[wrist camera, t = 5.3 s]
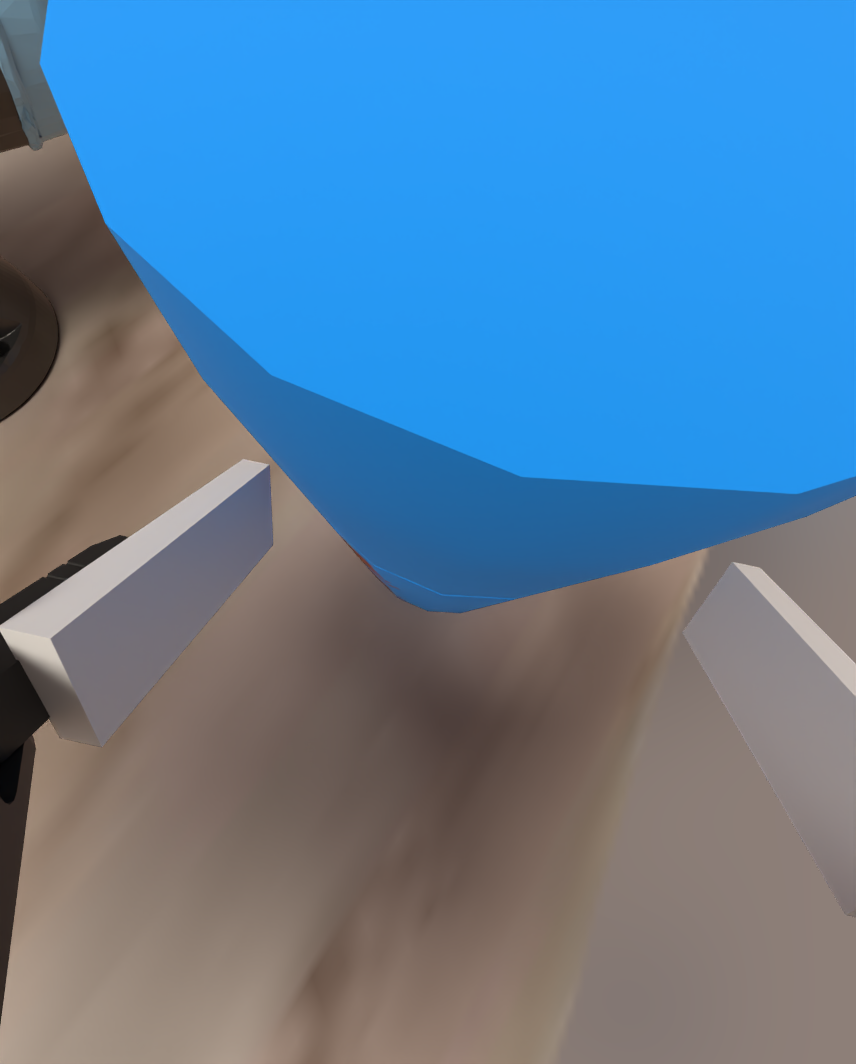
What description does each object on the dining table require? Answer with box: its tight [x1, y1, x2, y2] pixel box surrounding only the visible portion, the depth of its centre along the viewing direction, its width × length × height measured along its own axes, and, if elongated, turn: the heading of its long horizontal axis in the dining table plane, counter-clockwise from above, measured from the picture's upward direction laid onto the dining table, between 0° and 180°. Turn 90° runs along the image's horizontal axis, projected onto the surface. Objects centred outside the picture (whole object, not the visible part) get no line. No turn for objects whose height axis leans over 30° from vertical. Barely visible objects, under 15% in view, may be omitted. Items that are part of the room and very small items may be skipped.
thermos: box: [40, 0, 856, 613], centre depth 16 cm, size 11×11×25 cm
